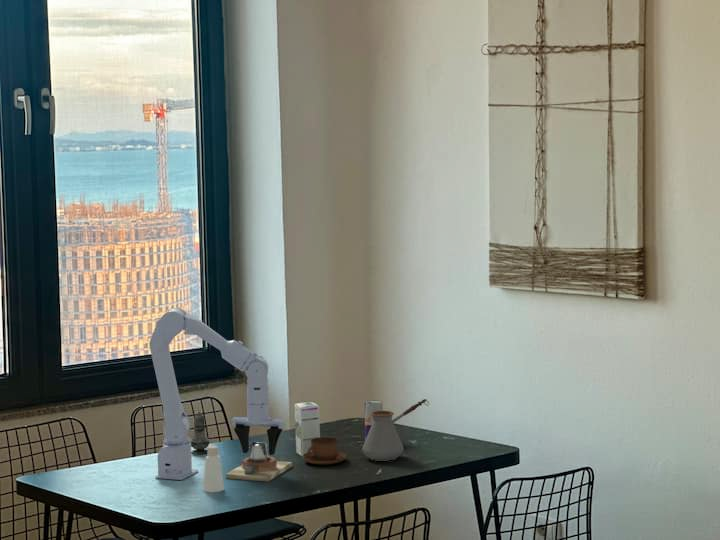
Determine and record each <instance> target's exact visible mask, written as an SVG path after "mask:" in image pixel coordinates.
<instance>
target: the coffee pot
mask: <svg viewBox="0 0 720 540" xmlns="http://www.w3.org/2000/svg"><path fill="white" fill-rule="evenodd" d="M426 402H427V403H428V404H426ZM422 404H425V406H429V405H430V402H429V401H428V400H427V399H426V398H424V399H422V400H421V401H417V403H416V404H414V405H411V406H410V407H408V409H406V410H404V412H403V411H402V413H401V414H399V415H398V416H396V417H394V418H393V416H394V415H395V413H394V412H393V411H391V410H383V411H375V412H372V413H371V415H372V417H373V423H372V425H371V428H370V430H369V433H368V435H367V438H366V440H364V442H363V445H362V452H363V454H364V456H366V458H368V459H369V458H370V459H371V460H370V459H369V460H370V461H372V460H377V461H387V460H393V459H396V458H397V459H398V457H400V456H401V455H402V453H403V451H404V445H403V442H402V440H401V439H400V436H399V434H398V432H397V429H396V427H395V424H394V423H396V422H397V421H398V420H400V419H401V418H403V417H406V416H407V415H408V414H410V413H412V412H413V411H415V410H416V409H417V408H419V407H420V406H422ZM397 459H396V460H397Z"/></svg>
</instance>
